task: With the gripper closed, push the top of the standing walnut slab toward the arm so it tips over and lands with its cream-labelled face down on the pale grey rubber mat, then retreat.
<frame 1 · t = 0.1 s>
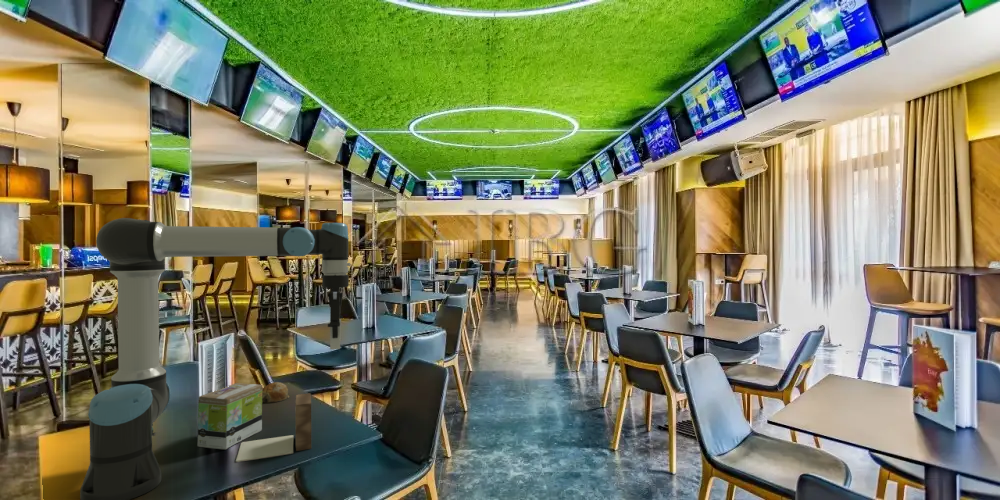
hand: (336, 344, 145), 28 cm above the table, tool pointing down, fingers open, 13 cm apart
bread roll: (274, 399, 181), on the table
mat: (266, 448, 137), on the table
slab: (303, 443, 141), on the table
sculpture: (151, 436, 147), on the table
tea box: (231, 439, 144), on the table
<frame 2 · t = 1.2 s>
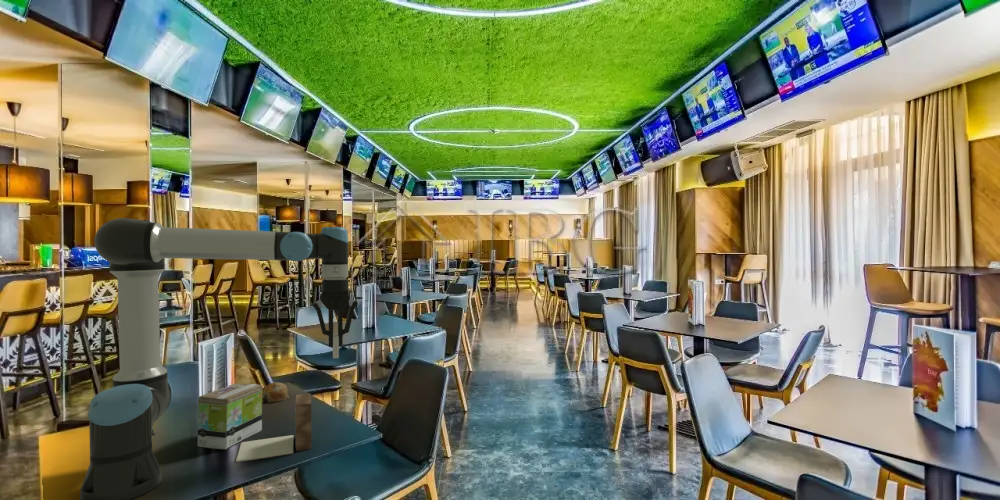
hand: (335, 357, 144), 24 cm above the table, tool pointing down, fingers closed
nothing on the table moved.
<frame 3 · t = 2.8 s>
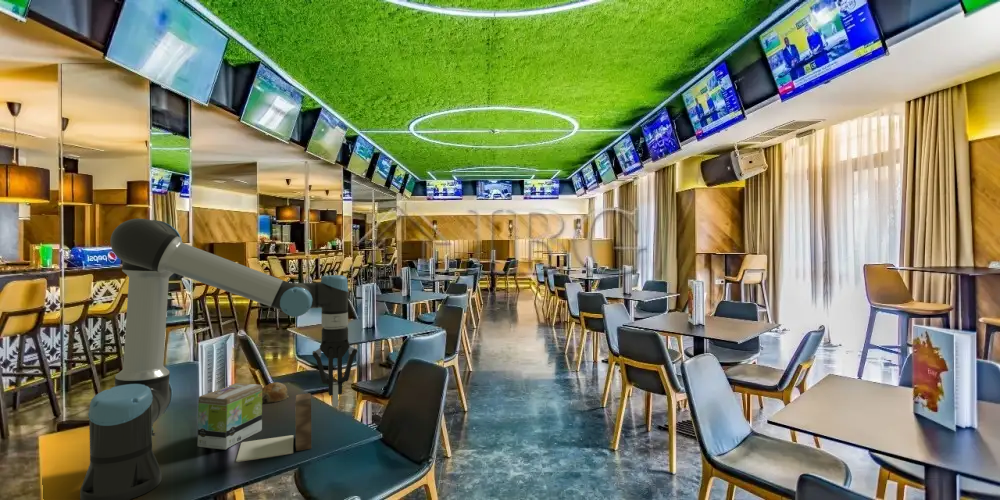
hand: (335, 405, 144), 10 cm above the table, tool pointing down, fingers closed
nothing on the table moved.
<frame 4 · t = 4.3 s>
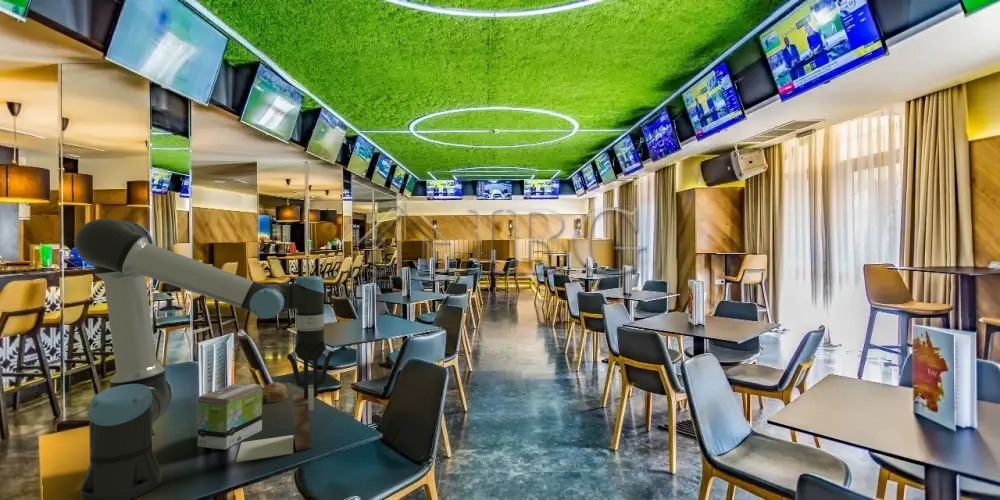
hand: (311, 408, 141), 10 cm above the table, tool pointing down, fingers closed
slab: (303, 442, 141), on the table, touching gripper
everything else where it was.
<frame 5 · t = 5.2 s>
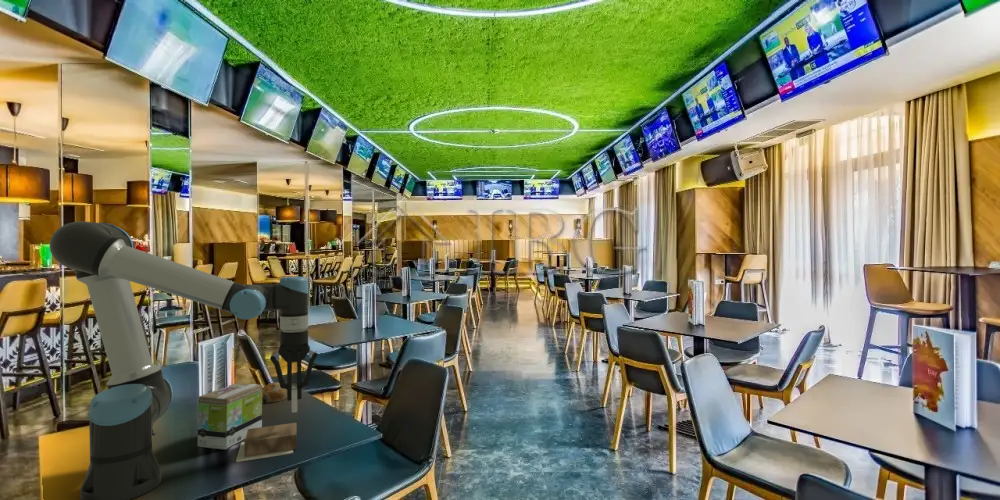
hand: (294, 410, 140), 10 cm above the table, tool pointing down, fingers closed
slab: (296, 435, 140), point 3 cm above the table, tilted 90°, touching mat
everything else where it was.
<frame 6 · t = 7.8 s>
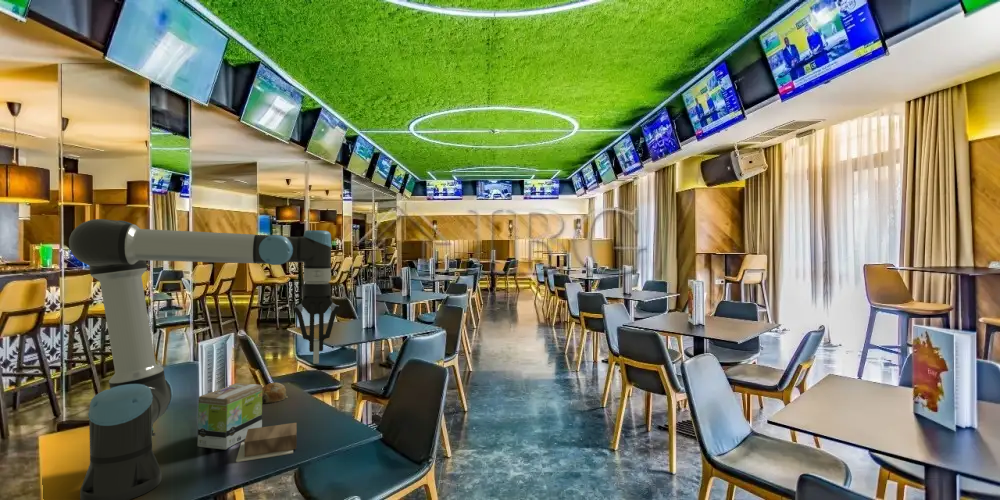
hand: (316, 362, 142), 23 cm above the table, tool pointing down, fingers closed
nothing on the table moved.
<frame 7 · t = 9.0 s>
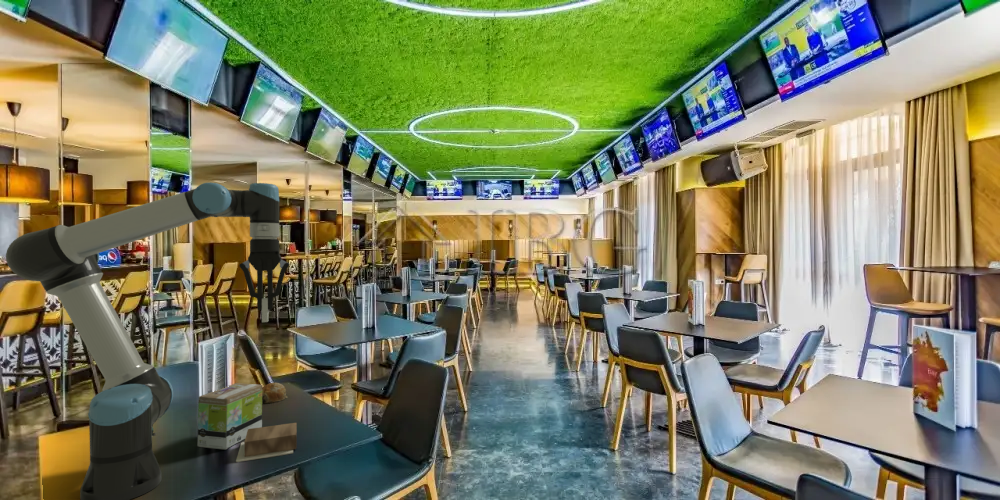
hand: (265, 321, 136), 36 cm above the table, tool pointing down, fingers closed
nothing on the table moved.
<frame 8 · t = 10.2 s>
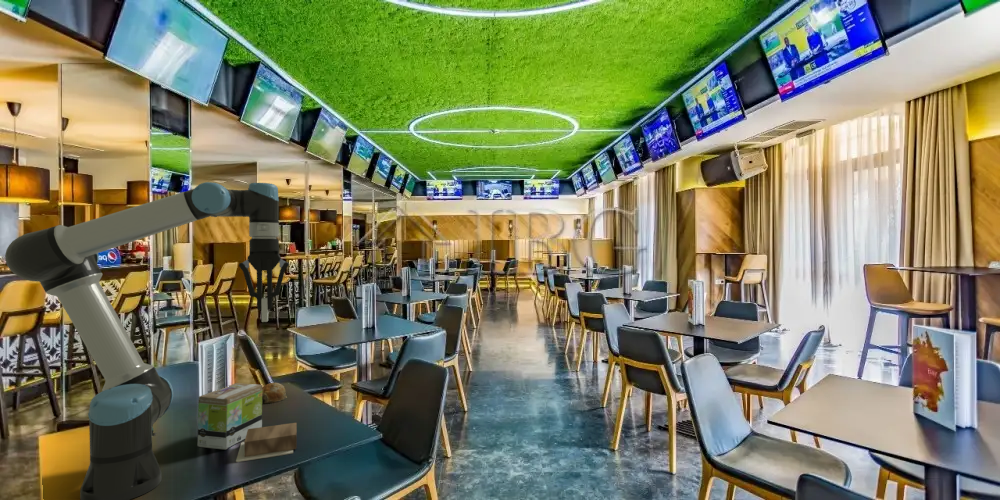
hand: (264, 321, 136), 36 cm above the table, tool pointing down, fingers closed
nothing on the table moved.
at the end: slab tilted 90°; slab inside the target area (4.6 cm from its centre), point 2.5 cm above the table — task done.
